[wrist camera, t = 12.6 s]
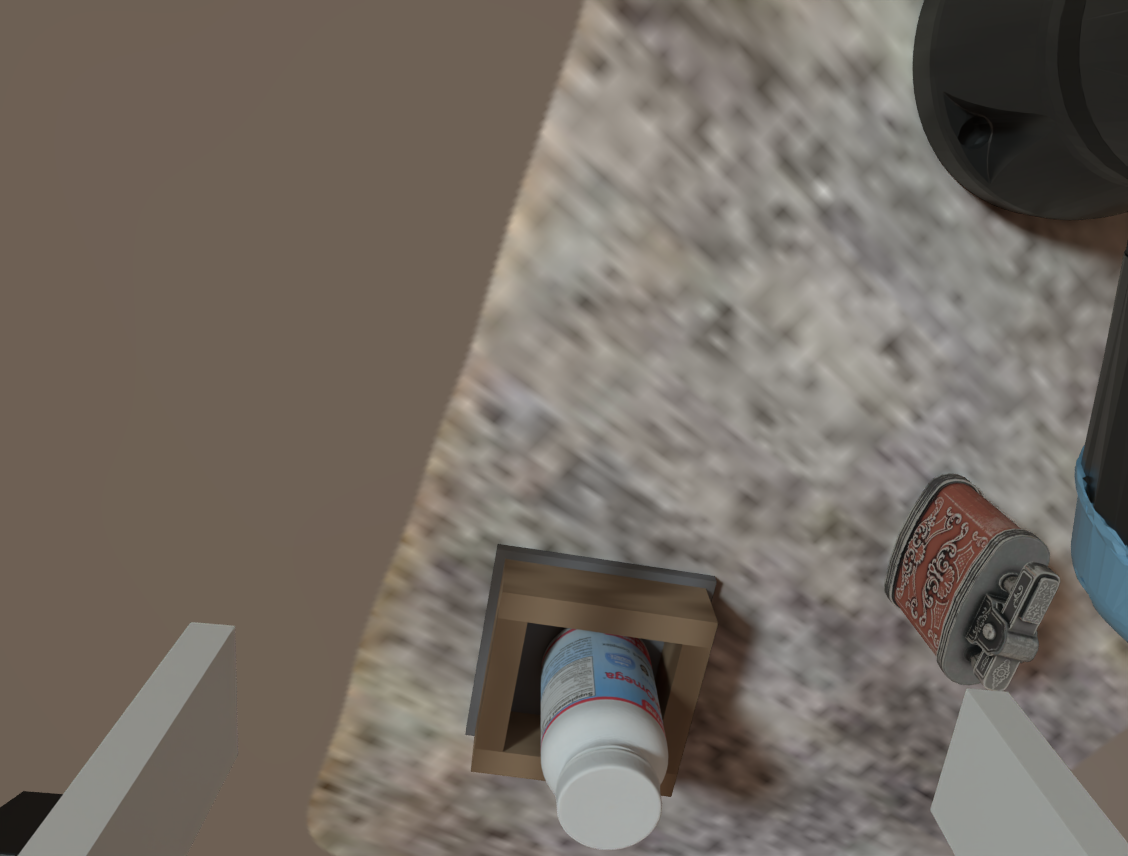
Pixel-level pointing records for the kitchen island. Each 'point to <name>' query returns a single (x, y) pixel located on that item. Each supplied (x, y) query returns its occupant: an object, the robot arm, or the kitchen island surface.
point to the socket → (592, 603)
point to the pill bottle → (602, 737)
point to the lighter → (970, 583)
